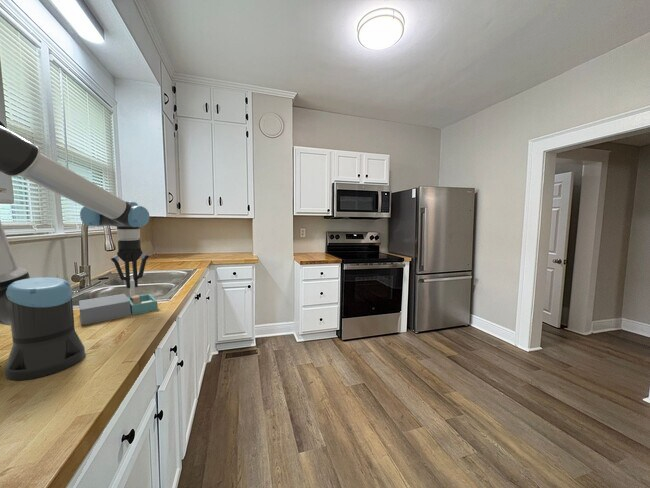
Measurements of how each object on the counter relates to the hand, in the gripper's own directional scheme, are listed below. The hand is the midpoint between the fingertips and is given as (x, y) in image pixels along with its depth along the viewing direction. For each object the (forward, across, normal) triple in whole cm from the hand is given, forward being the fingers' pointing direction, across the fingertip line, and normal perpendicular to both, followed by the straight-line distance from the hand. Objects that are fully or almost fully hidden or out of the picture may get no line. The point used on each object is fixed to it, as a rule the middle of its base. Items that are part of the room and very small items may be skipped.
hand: (132, 295), depth 111 cm
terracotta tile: (+5, -1, -7) cm, 8 cm away
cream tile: (+4, -5, 0) cm, 6 cm away
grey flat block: (+7, +9, -4) cm, 12 cm away
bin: (+7, -4, -4) cm, 9 cm away
